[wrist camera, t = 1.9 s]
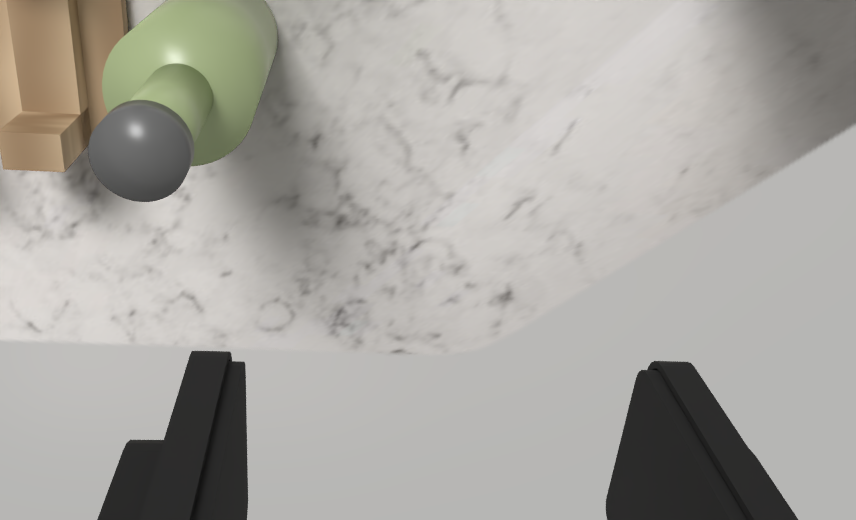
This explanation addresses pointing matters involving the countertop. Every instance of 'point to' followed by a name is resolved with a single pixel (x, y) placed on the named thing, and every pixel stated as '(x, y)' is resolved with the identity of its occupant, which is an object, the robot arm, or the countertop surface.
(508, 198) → the countertop surface
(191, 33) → the bottle
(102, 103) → the rest
